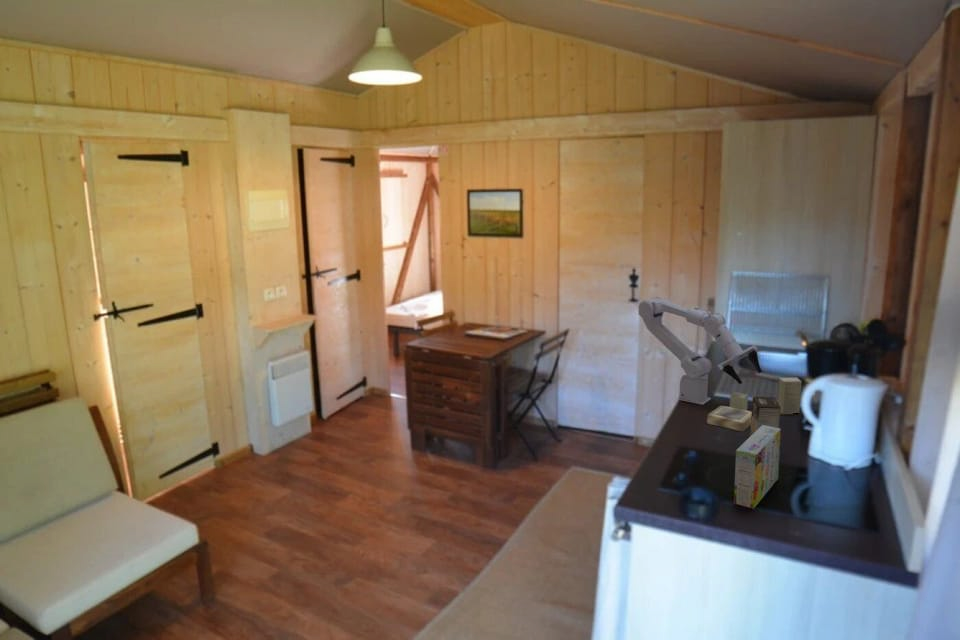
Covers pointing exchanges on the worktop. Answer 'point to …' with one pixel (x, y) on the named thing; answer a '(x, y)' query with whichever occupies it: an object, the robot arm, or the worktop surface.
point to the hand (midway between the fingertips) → (750, 378)
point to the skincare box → (789, 395)
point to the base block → (730, 418)
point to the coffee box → (764, 413)
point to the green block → (739, 401)
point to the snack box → (756, 466)
